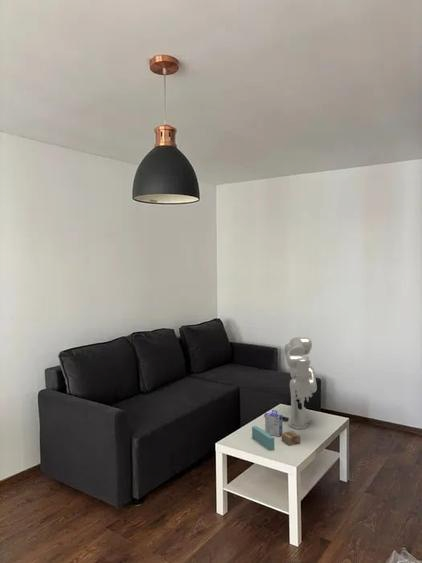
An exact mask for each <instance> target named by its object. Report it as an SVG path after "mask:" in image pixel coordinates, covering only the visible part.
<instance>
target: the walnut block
mask: <svg viewBox="0 0 422 563" xmlns="http://www.w3.org/2000/svg"><path fill="white" fill-rule="evenodd" d="M281 441H282V442H283V444H285V445H287V446H288V447H290V446H296V445H300V444H301V435H300V434H298V433H297V432H296V431H294V430H291V431H285V432H283V433H282V435H281Z"/></svg>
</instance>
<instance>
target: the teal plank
mask: <svg viewBox="0 0 422 563" xmlns="http://www.w3.org/2000/svg"><path fill="white" fill-rule="evenodd" d="M251 437H252V440H254V441H256V442H257V443H259V444H260V445H261V446H263V447H265V448H266V449H267V450H269V451H274V450H275V437H274V435H270V434H268V433H266V432H265V430H263V429H262V428H260V427H259V426H257V425H253V426H251Z"/></svg>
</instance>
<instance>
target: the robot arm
mask: <svg viewBox="0 0 422 563" xmlns="http://www.w3.org/2000/svg"><path fill="white" fill-rule="evenodd" d="M312 343H313V342H312V340H311V339H310V338H309V337H301V336H300V337H293V338H291V339H290V340H289V342H288V343H286V344H285V345H284V347H283V348H284V350H283V351H284V356H285V358H286V365H287V367H289V373H290V377H291V379H290V381H289V390H290V414H291V415H290V421H289V423H288V426H289V427H290V428H292V429H297V430H303V429H307V428H308V427H309V422H312V421H313V419H312V418H311V417H309V418H308V417H307V415H306V414H307V412H306V411H307V409H309V402H310V400H311V398H312V397H313V394H314V393H316V392H317V389H318V385H317V380H316V375H315V369H314V367H313V366H311V358H310V357H309V356H308V355H309V354H310V352H311V350H312V348H313V345H312Z"/></svg>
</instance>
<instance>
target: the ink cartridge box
mask: <svg viewBox="0 0 422 563" xmlns="http://www.w3.org/2000/svg"><path fill="white" fill-rule="evenodd" d="M264 418H265V424H264V426H265V428H264V429H265V430H264V431H265V432H266V433H268V434H270V435H271V436H273V437H274V436H276V437H280V436H281V437H282V433H284V432H283V414H278V410H274V409H273V410H272V411H271V412H268V413H266V414H265V416H264Z"/></svg>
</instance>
